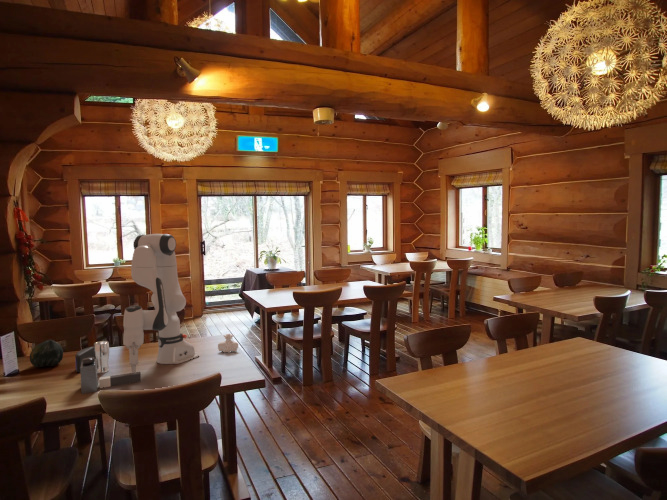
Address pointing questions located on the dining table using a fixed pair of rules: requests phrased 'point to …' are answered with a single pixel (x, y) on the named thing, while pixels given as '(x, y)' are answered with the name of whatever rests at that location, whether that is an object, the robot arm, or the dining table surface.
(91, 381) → the block
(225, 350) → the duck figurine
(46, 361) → the squash
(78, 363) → the leaning round-cornered charcoal block
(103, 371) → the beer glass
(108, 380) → the plug
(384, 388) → the dining table surface
